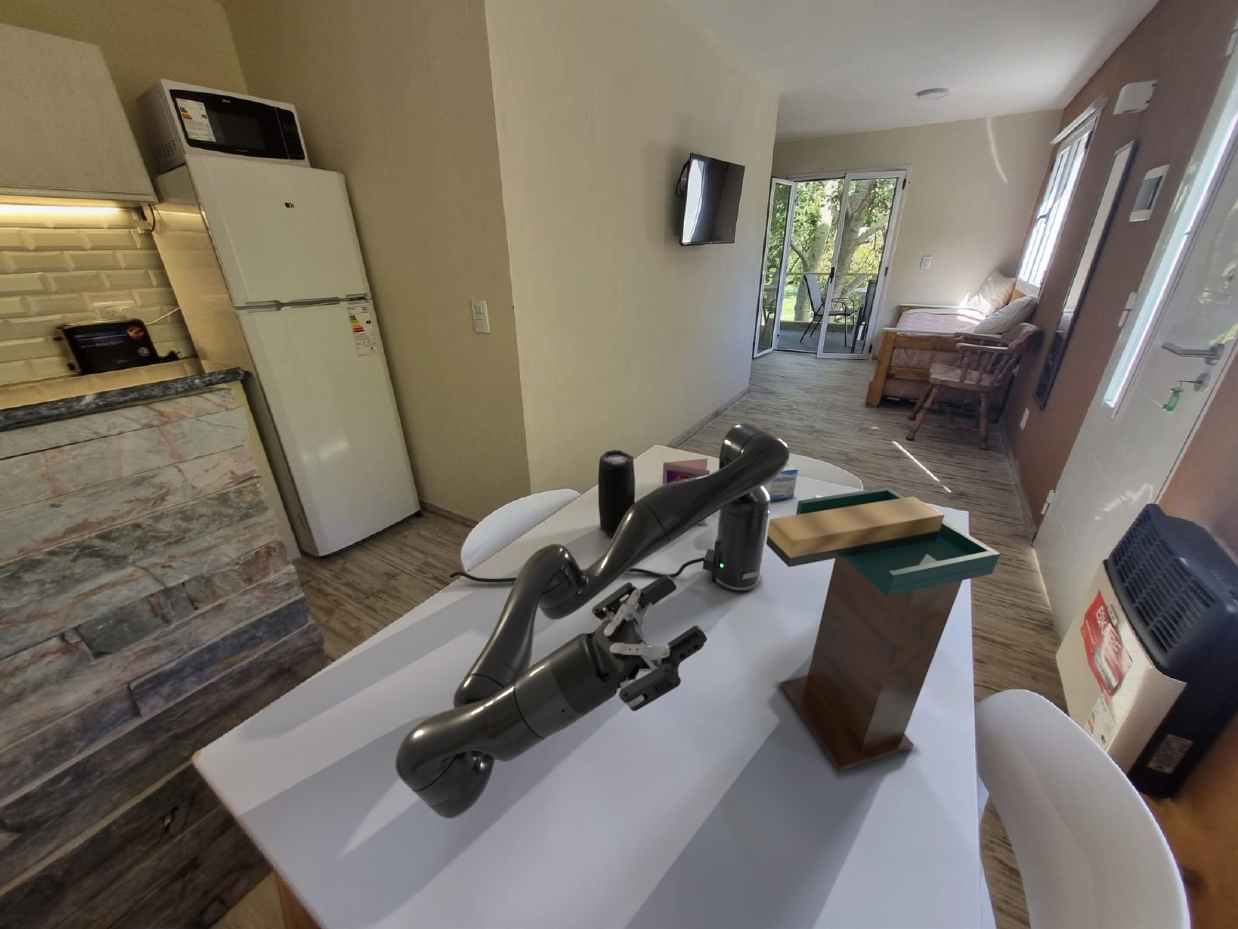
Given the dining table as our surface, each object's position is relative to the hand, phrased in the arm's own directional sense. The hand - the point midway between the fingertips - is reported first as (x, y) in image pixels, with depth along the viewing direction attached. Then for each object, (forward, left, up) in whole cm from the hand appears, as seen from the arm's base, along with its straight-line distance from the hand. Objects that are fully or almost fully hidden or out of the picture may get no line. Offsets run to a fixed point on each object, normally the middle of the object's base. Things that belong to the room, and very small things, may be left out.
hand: (686, 604), depth 54 cm
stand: (+20, +15, -27) cm, 37 cm away
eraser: (+16, +12, +5) cm, 21 cm away
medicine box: (+6, +82, -27) cm, 87 cm away
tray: (+20, +15, +4) cm, 26 cm away
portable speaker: (-29, +50, -27) cm, 64 cm away
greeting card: (-15, +63, -27) cm, 70 cm away
